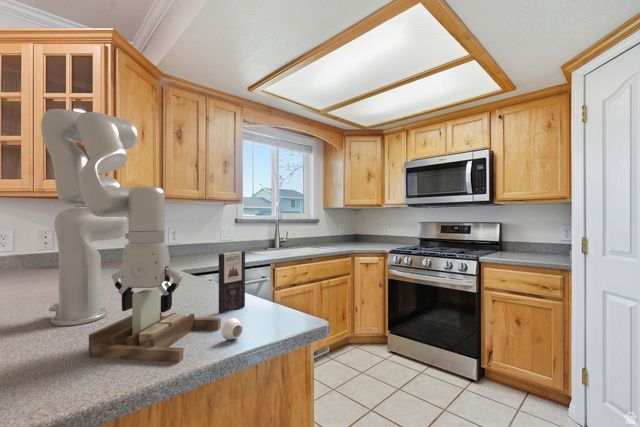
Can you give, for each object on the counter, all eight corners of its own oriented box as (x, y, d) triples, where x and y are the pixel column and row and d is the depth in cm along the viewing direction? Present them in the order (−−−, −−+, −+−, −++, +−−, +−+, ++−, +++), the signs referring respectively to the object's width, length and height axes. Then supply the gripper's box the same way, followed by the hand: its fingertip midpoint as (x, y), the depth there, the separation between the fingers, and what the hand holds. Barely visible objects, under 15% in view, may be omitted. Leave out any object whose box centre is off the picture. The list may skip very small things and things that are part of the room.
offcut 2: (159, 340, 73) (159, 322, 73) (174, 331, 79) (174, 313, 79) (171, 341, 73) (171, 322, 73) (185, 331, 79) (185, 314, 79)
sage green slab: (132, 347, 69) (132, 294, 69) (152, 334, 76) (152, 286, 76) (140, 347, 69) (140, 294, 69) (159, 335, 76) (159, 287, 76)
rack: (88, 358, 64) (88, 334, 64) (150, 324, 83) (150, 306, 83) (179, 363, 62) (179, 338, 62) (220, 327, 81) (220, 309, 81)
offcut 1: (139, 354, 66) (139, 333, 66) (156, 342, 72) (156, 323, 72) (152, 354, 66) (152, 334, 66) (168, 343, 72) (168, 324, 72)
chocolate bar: (220, 313, 93) (220, 254, 93) (218, 312, 93) (218, 254, 93) (244, 306, 100) (245, 251, 100) (243, 306, 100) (243, 251, 100)
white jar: (238, 335, 76) (238, 315, 76) (245, 338, 74) (245, 317, 74) (220, 342, 72) (220, 320, 72) (228, 345, 70) (228, 323, 70)
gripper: (100, 239, 70) (100, 313, 70) (171, 240, 68) (171, 316, 68) (125, 236, 77) (124, 304, 77) (189, 237, 76) (189, 306, 76)
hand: (146, 310), depth 73 cm, fingers open, 9 cm apart
